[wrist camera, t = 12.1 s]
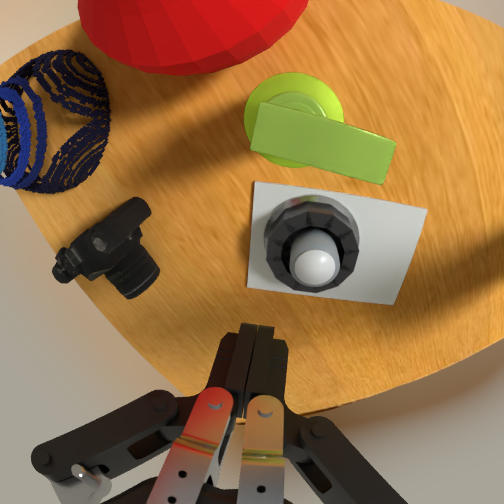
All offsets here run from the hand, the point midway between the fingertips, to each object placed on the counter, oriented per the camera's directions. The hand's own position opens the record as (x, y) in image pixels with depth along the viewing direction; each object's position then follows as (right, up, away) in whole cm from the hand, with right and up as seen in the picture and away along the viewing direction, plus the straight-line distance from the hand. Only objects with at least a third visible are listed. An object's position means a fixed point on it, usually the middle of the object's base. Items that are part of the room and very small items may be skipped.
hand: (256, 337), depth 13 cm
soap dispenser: (+5, +18, +14) cm, 23 cm away
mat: (+10, +4, +21) cm, 23 cm away
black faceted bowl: (+7, +5, +20) cm, 22 cm away
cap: (+7, +5, +20) cm, 22 cm away
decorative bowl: (-27, +22, +17) cm, 39 cm away
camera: (-18, +5, +25) cm, 31 cm away
